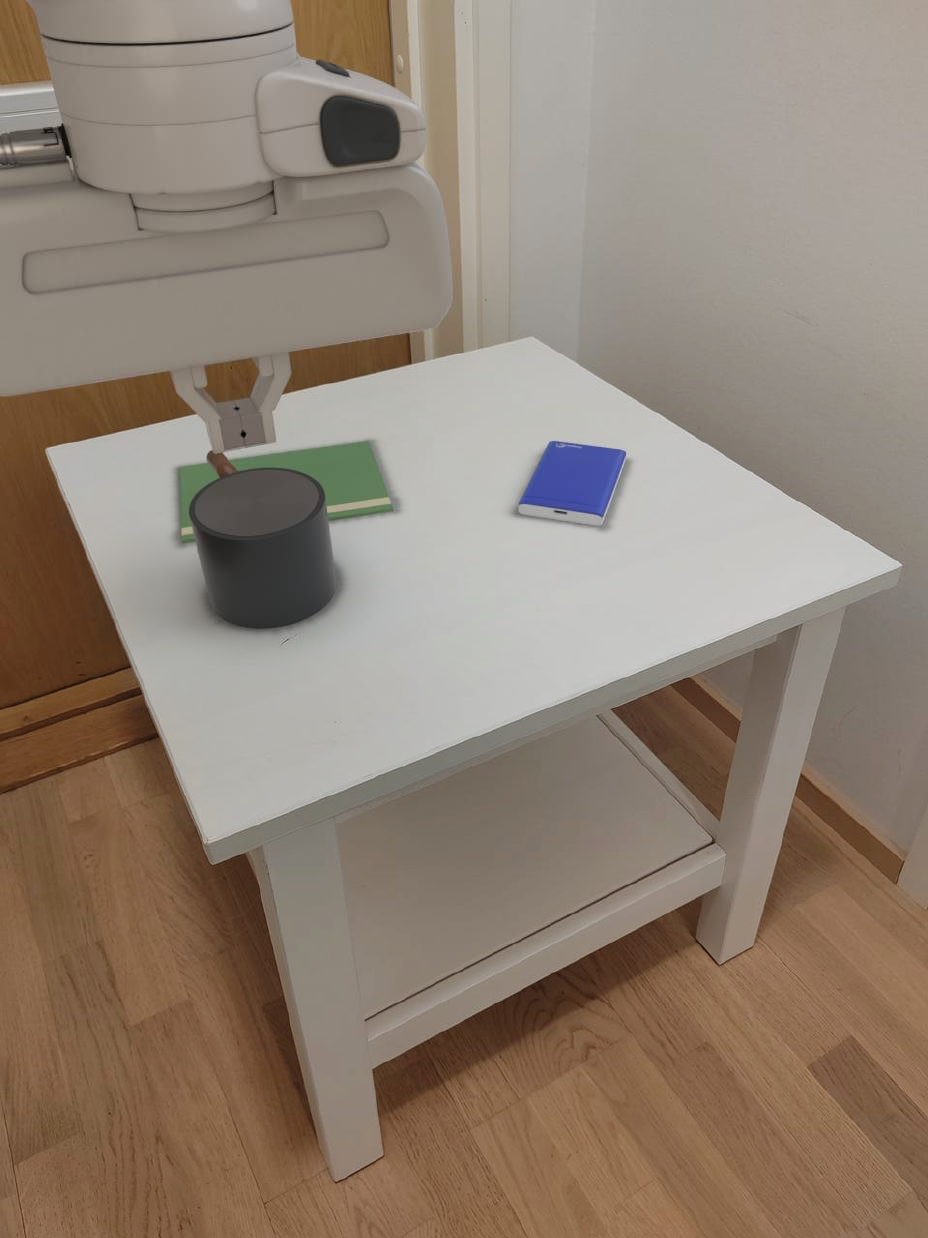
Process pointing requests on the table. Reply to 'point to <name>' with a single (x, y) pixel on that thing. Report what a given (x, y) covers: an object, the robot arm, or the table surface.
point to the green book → (336, 468)
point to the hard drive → (573, 483)
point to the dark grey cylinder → (263, 544)
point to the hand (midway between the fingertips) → (242, 443)
